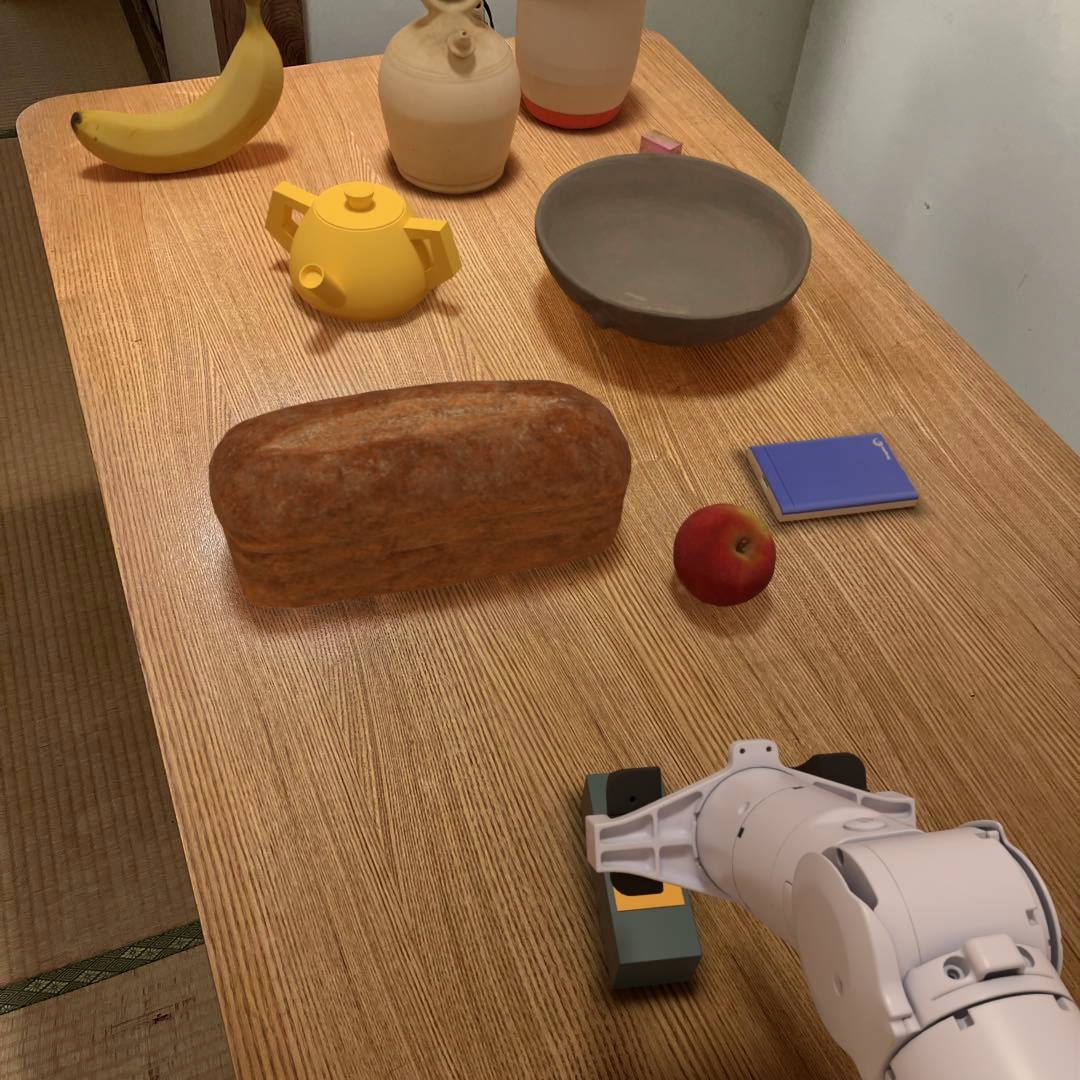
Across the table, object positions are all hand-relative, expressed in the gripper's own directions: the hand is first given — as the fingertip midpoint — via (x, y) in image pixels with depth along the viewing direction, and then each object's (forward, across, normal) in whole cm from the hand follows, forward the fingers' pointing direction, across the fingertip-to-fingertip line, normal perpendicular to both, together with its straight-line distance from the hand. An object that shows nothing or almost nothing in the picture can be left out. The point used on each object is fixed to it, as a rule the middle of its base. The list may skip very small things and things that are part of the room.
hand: (694, 794), depth 55 cm
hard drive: (+34, -24, -19) cm, 46 cm away
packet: (+13, 0, +8) cm, 15 cm away
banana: (+70, +34, -60) cm, 98 cm away
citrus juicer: (+77, -12, -71) cm, 106 cm away
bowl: (+50, -14, -38) cm, 64 cm away
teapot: (+53, +16, -40) cm, 68 cm away
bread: (+32, +11, -15) cm, 37 cm away
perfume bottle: (+65, -21, -57) cm, 89 cm away
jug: (+68, +5, -60) cm, 91 cm away
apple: (+27, -11, -10) cm, 31 cm away
